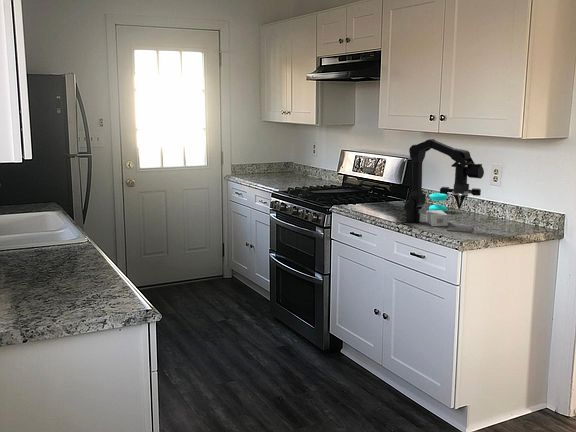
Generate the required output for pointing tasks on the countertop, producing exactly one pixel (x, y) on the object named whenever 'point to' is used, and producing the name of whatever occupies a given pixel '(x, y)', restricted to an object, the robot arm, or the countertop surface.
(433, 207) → the donuts
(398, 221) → the countertop surface
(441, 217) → the skincare box
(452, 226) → the mat
